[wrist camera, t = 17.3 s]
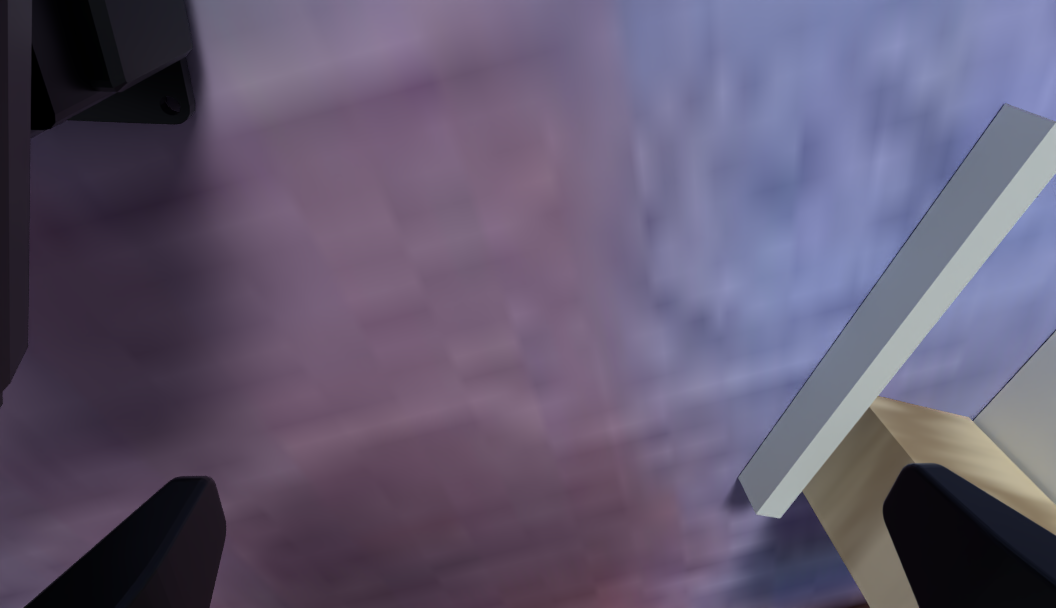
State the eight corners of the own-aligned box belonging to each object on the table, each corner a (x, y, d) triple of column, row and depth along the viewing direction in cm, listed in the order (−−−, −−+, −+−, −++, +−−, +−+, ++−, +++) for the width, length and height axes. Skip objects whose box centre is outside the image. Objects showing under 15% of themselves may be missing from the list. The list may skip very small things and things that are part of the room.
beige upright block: (792, 474, 28) (954, 751, 19) (856, 390, 26) (1077, 661, 17) (898, 494, 30) (1097, 761, 20) (968, 417, 27) (1229, 680, 18)
